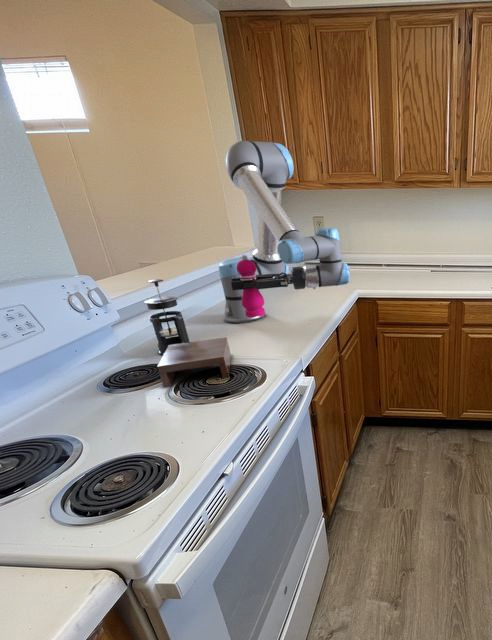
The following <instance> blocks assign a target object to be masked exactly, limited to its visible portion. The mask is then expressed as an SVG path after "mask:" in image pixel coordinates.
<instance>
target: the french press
mask: <svg viewBox="0 0 492 640" xmlns="http://www.w3.org/2000/svg"><path fill="white" fill-rule="evenodd" d="M162 282H164V279H160V278H156V279H151V280H148V281H147V283H148V284H153V285H154V286H155V288H156V290H157V293H158V297H153V298H149V299H146V300H144V304H146V306H147V309H148V310H149V311H150V310H153V311H156V310H157V311H158V310H162V311H160V312H157V313H154V314H151V315H149V318H148V319H149V321H150V323H151V324H152V327H153V330H154V334H155V337H156V340H157V342H156V343H157V347H158V350H159V351H158V353H159V355H161V356H163V355H164V353H165V351H166V349H167V347H168V345H173V344H181V343H188V342H190V339H189V335H188V331H187V328H186V327H187V326H186V324H185V320H184V317H183V313H182V311H179V310H169V311H166V309H171V308H174V307H176V306H178V302H177V300H178V297H177V296H172V295H169V296H161V293H160V292H161V291H160V288H159V283H162ZM167 316H168V317H167ZM169 316H170V317H169ZM161 317H163V318H161ZM170 322H174V325H175V327H170ZM162 323H163V324H164V323H166V324H167V328H164V327H163V324H162Z"/></svg>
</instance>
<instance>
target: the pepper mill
mask: <svg viewBox="0 0 492 640" xmlns="http://www.w3.org/2000/svg"><path fill="white" fill-rule="evenodd" d="M240 257H241V258H242V260H241V261H239V262H238V263H237V271H238V273H239V274H240V275H241V276H240V277H241V279H240V280H242V281H243V280H252V278H254V279H256V274H255V272H256V265H255V264H254V262H252V261H251V260H252V259H250V260H247V257H248V256H247V255H246V254H243V255H241V256H240ZM264 305H265V298H264V296H263V294H262V293H261V291H260V289H259V290H257V289H255V288H252V289H243V295H242V306H243V307H244V308H245V309H246V310H245V314H246V316H247V317H259V316H262V315H264V314H265V315H266V312H265V308H264Z"/></svg>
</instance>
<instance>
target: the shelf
mask: <svg viewBox="0 0 492 640" xmlns="http://www.w3.org/2000/svg"><path fill="white" fill-rule="evenodd" d="M231 359H232V353H231V349H230V345H229V341H228V337H220V338H219V337H218V338H211V339H205V340H196V341H189V342H188V343H181V344H173V345H168V347H167V349H166V351H165V353H164V355H162V357H161V359H160V360H159V362H158V364H157V366H156V368H157V371H158V374H159V377H160V380H161V382H162V387H163V388H168V387H171V386H172V383H173V381H174V378H175V376H176V373H177V372H179V371H185V370H193V369H199V368H205V367H211V366H212V367H213V366H217V365H218V366H219V369H220V374H221V378H222V379H225V378H229V376H230V368H231ZM228 366H229V368H228ZM227 373H228V374H227Z"/></svg>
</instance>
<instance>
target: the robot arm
mask: <svg viewBox="0 0 492 640" xmlns="http://www.w3.org/2000/svg"><path fill="white" fill-rule="evenodd" d="M225 167H226V172H227V174H228V177H229V178H230V180H231V181H232V183H233V184H234V186H235V187H236V188H238V189H239V190H241V191H242V192H243V193H244V195H245V197H246V198H247V199H248V201H249V202H250V203H251V205H252V207H253V208H254V209H255V211H256V248H255V249H254V250H253V251H252V258H251V259H250V258H249V257H248V256H247V260H251V261H252V262H254V264H255V265H256V272H255V274H256V279H254V278H252V280H243V281H242V280H240V279H241V277H240V276H241V275H240V274H239V273H238V271H237V263H238V262H239V261H241V260H242V258H241V257H242V256H238V257H232V258H229V259H228V258H227V259H226V260H223V261H222V262H220V263H219V265H218V272H219V278H220V281H221V286H222V291H223V294H224V298H225V306H224V314H223V315H224V317H223V318H224V320H225V322H226V323H230V324H244V323H251V322H256V321H259V320H261V319H263V318H265V317H266V313H265V314H264V315H262V316H259V317H247V316H246V314H245V310H246V309H245V308H244V307H243V306H242V295H243V289H252V288H255V289H257V290H259V291H260V290H265V289H266V290H267V289H275V288H287V287H289V285H293V289H294V290H297V291H298V290H305V289H306V288H307V289H313V290H316V288H324V287H325V288H326V287H338V286H343V285H344V286H345V285H347V284H349V282H350V280H351V275H350V274H351V273H350V267H349V265H348V264H347V262H343V261H342V254H341V253H342V252H341V240H340V234H339V230H338V229H337V228H335V227H321V228H316V230H315V235H311V236H303V235H302V233H301V232H300V230H299V229H298V228H297V226H296V225H295V224H294V222H293V221H292V219H291V218H290V216H289V215H288V214H287V212H286V211H285V209H284V208H283V206H282V191H283V190H284V189H286V187H287V180H289V179H291V178H292V177H293V174H294V170H295V169H294V167H295V166H294V161H293V158H292V155H291V154H290V151H289V150H288V149H287V148H286V147H285V146H284V145H283V144H281V143H278V142H272V141H253V140H252V141H249V140H239V141H237V142H235V143H233V144H232V145H231V146H230V147H229V148H228V150H227V152H226V156H225ZM317 260H319V264H317V265H316V264H313V265H303V266H293V267H291V268H290V267H289V265H291V264H294V265H295V264H300V263H305V262H309V261H317ZM290 271H291V273H290Z"/></svg>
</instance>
